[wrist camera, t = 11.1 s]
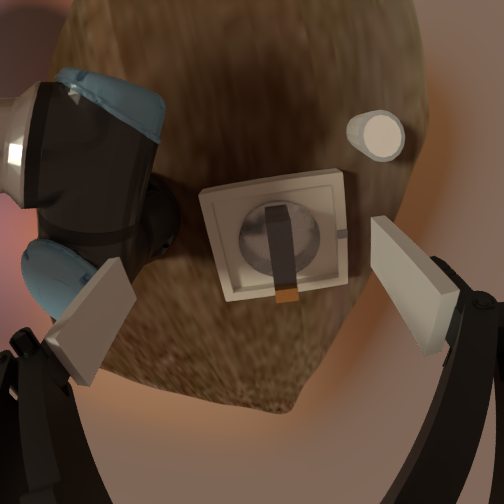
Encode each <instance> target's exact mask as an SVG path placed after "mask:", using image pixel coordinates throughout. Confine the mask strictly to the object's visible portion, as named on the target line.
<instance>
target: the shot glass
mask: <svg viewBox="0 0 504 504" xmlns="http://www.w3.org/2000/svg"><path fill="white" fill-rule="evenodd" d="M346 134H347V138H348V141H349V142H350V143H351V145H352V146H353V147H355V148H356V149H358V150H359V151H361V152H362V153H364V154H365V155H367V156H368V157H370V158H371V159H373V160H374V161H380V162H387V161H391V160H393V159H394V158H396V157H397V156H398V155H399V154H400V152H401V151H402V149H403V147H404V142H405V133H404V129H403V126H402V124H401V123H400V121H399V119H398V118H397V117H396V116H394V115H393V114H392V113H390V112H387V111H384V110H376V111H371V112H367V113H364V114H360V115H356V116H355V117H353V118H352V119H351V120H350V121H349V123H348V125H347V130H346Z"/></svg>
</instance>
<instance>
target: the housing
mask: <svg viewBox="0 0 504 504" xmlns="http://www.w3.org/2000/svg"><path fill="white" fill-rule="evenodd" d="M198 197H199V201H200V205H201V209H202V213H203V217H204V221H205V225H206V229H207V233H208V236H209V240H210V244H211V248H212V252H213V255H214V259H215V263H216V267H217V270H218V274H219V278H220V281H221V285H222V288H223V292H224V296H225V299H226V302H227V301H235V300H243V299H251V298H258V297H266V296H273V295H275V287H274V280H273V276H268V275H264V274H262V273H260V272H258V271H256V270H254V269H253V268H252V267H251V266H250V265H249V264H248V263H247V262H246V261H245V259H244V258H243V256H242V254H241V252H240V248H239V233H240V228H241V225H242V223H243V221H244V219H245V218H246V216H247V215H248V214H249V213H250V212H251V211H252V210H253V209H255V208H256V207H258V206H259V205H262V204H264V203H267V202H270V201H276V200H284V201H290V202H294V203H297V204H299V205H301V206H302V207H304V208H305V209H306V210H308V211H309V212H310V213H311V215H312V216H313V217H314V219H315V221H316V223H317V225H318V227H319V231H320V246H319V249H318V252H317V254H316V256H315V258H314V259H313V261H312V262H311V263H310V264H309V265H308V266H307V267H306V268H304V269H303V270H301V271H299V272H298V273H296V277H297V286H298V292H300V291H307V290H313V289H319V288H325V287H332V286H337V285H343V284H348V250H347V238H348V230H347V224H346V207H345V193H344V181H343V172H341V171H340V170H338V169H337V168H332V169H324V170H315V171H308V172H300V173H293V174H286V175H279V176H273V177H266V178H260V179H254V180H248V181H242V182H237V183H231V184H226V185H220V186H215V187H210V188H205V189H202V191H201V192H200V193H199V195H198Z"/></svg>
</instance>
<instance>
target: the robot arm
mask: <svg viewBox="0 0 504 504" xmlns="http://www.w3.org/2000/svg"><path fill="white" fill-rule="evenodd" d="M55 80H57V82H37V83H35V85H33V86H32V87H31V88H30V89H28V90H27V91H26V92H25V93H24V94H23V95H21V96H19V97H18V98H0V193H6V194H8V195H9V196H10V197H11V198H12V199H13V200H14V201H15V202H16V204H17V205H18V206H19V207H20V208H21V209H30V208H39V221H38V228H39V233H38V238H37V239H35V240H33V241H31V242H30V243H29V244H28V247H27V249H26V250H25V251H24V253H23V255H22V259H21V270H22V275H23V278H24V281H25V284H26V286H27V288H28V290H29V291H30V293H31V294H32V296H33V298H34V299H35V300H36V301H37V303H38V304H39V305H40V306H41V307H42V308H43V309H44V310H45V311H46V312H47V313H48V314H49V315H51V316H52V317H53V318H55V319H56V320H57V321H56V322H55V324H54V325H53V326H52V328H51V329H50V330H49V332H48V333H47V335H46V336H45V337H44V339H43V341H42V342H41V344H40V343H39V341H38V340H37V338H36V337H35V335H34V334H33V332H32V330H31V329H30V328H29V327H25V328H22V329H20V330H19V331H18V332H16V333H15V334H14V335H13V336H12V338H11V339H10V342H9V343H10V345H11V346H12V348H13V349H14V351H15V352H16V353H17V355H18V356H19V357H17V358H15V357H14V356H13V354H12V353H11V351H9V350H4V351H3V352H0V504H113V503H112V501H111V499H110V497H109V495H108V492H107V490H106V488H105V486H104V484H103V481H102V479H101V477H100V474H99V472H98V470H97V467H96V465H95V462H94V459H93V457H92V454H91V451H90V448H89V446H88V443H87V440H86V437H85V434H84V430H83V427H82V424H81V421H80V417H79V414H78V410H77V406H76V402H75V398H74V394H73V390H72V387H71V385H70V383H69V382H68V379H69V377H70V376H71V377H72V378H73V380H74V381H75V382H76V383H77V385H82V386H90V385H91V383H92V381H93V379H94V377H95V375H96V373H97V371H98V369H99V367H100V365H101V363H102V361H103V359H104V357H105V355H106V353H107V351H108V350H109V348H110V346H111V344H112V342H113V340H114V338H115V336H116V335H117V333H118V331H119V329H120V327H121V326H122V324H123V322H124V320H125V318H126V317H127V315H128V313H129V311H130V310H131V308H132V306H133V304H134V303H135V301H136V299H137V298H136V296H135V293H134V291H133V289H132V286H131V284H132V283H133V281H134V280H135V278H136V276H137V275H138V273H139V272H140V270H141V269H142V268H143V266H144V265H146V264H148V263H150V262H152V261H155V260H157V259H158V258H160V257H161V256H163V255H164V254H165V253H166V252H167V251H168V249H169V248H170V247H171V245H172V244H173V242H174V240H175V238H176V236H177V234H178V230H179V225H180V215H179V209H178V205H177V202H176V200H175V198H174V196H173V194H172V193H171V191H170V190H169V189H168V187H167V186H166V185H165V184H164V183H163V182H162V181H160V180H159V179H158V178H156V177H154V176H152V175H151V171H152V167H153V163H154V159H155V156H156V152H157V148H158V145H160V143H161V140H160V134H161V130H162V126H163V122H164V118H165V114H166V105H165V102H164V100H163V98H162V97H161V96H160V95H158V94H157V93H155V92H153V91H151V90H149V89H146V88H144V87H141V86H138V85H136V84H133V83H130V82H127V81H124V80H121V79H118V78H114V77H111V76H107V75H103V74H99V73H95V72H89V71H84V70H80V69H76V68H69V67H66V68H63V69H61V70H60V72H59V73H58V74H57V75H56V78H55ZM371 268H372V269H373V271H374V272H375V274H376V275H377V277H378V278H379V280H380V282H381V283H382V285H383V286H384V288H385V290H386V291H387V293H388V294H389V296H390V297H391V299H392V301H393V302H394V304H395V306H396V307H397V309H398V311H399V312H400V314H401V316H402V318H403V319H404V321H405V323H406V324H407V326H408V328H409V330H410V332H411V333H412V335H413V337H414V339H415V340H416V342H417V344H418V346H419V348H420V349H421V352H422V353H423V355H424V357H425V356H429V355H432V354H435V353H438V352H441V350H442V348H443V345H444V342H445V339H446V341H447V343H448V344H449V346H450V349H449V351H448V353H447V356H446V359H445V361H444V364H443V367H444V368H443V371H442V374H441V377H440V380H439V384H438V386H437V389H436V392H435V395H434V397H433V400H432V403H431V405H430V408H429V411H428V413H427V416H426V418H425V421H424V423H423V425H422V427H421V430H420V432H419V434H418V436H417V438H416V441H415V443H414V445H413V447H412V449H411V451H410V453H409V455H408V457H407V459H406V461H405V463H404V464H403V466H402V468H401V470H400V472H399V473H398V475H397V477H396V479H395V480H394V482H393V484H392V485H391V487H390V489H389V490H388V492H387V494H386V495H385V497H384V498H383V500H382V501H381V503H380V504H456V502H457V500H458V498H459V496H460V493H461V491H462V489H463V487H464V484H465V481H466V479H467V477H468V474H469V471H470V469H471V466H472V463H473V460H474V457H475V454H476V451H477V448H478V445H479V442H480V438H481V435H482V431H483V427H484V423H485V419H486V415H487V410H488V406H489V401H490V395H491V389H492V384H493V377H494V385H495V400H496V447H495V461H494V472H493V479H492V486H491V493H490V498H489V504H504V302H497V301H496V299H495V298H494V297H493V296H491V295H490V294H489V293H486V292H483V291H473V290H472V289H471V288H470V287H469V286H468V285H467V284H466V283H465V281H464V280H463V279H461V277H460V276H459V275H458V274H456V272H455V271H454V270H453V269H451V267H450V266H449V265H448V264H447V263H446V262H445V261H443V260H441V259H440V258H438V257H436V256H432V257H428V256H427V255H426V254H425V253H424V252H423V251H422V250H421V249H420V248H419V247H418V246H417V245H416V244H415V243H414V242H413V241H412V240H411V239H410V238H409V237H408V236H407V235H406V234H405V233H404V232H403V231H401V230H400V229H399V228H398V227H397V226H396V225H395V224H394V223H393V222H392V221H390V220H389V219H388V218H387V217H386V216H385V215H384V216H376V217H371ZM10 388H11V389H12V390H13V392H14V393H15V394H16V395H17V396H18V399H17V400H15V399H14V398H13V397H12V396H11V395H10V393H9V389H10Z"/></svg>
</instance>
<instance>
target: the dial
mask: <svg viewBox="0 0 504 504" xmlns="http://www.w3.org/2000/svg"><path fill="white" fill-rule="evenodd" d="M319 246H320V231H319V227H318V225H317V223H316V221H315V219H314V217H313V216H312V215H311V213H310V212H309V211H308V210H306V209H305V208H304V207H302V206H301V205H299V204H297V203H294V202H290V201H284V200H276V201H270V202H267V203H264V204H262V205H259V206H258V207H256V208H255V209H253V210H252V211H251V212H250V213H249V214H248V215H247V216H246V218H245V219H244V221H243V223H242V225H241V228H240V233H239V248H240V252H241V254H242V256H243V258H244V259H245V261H246V262H247V263H248V264H249V265H250V266H251V267H252V268H253V269H254V270H256V271H258V272H260V273H262V274H264V275H268V276H273V280H274V287H275V296H276V303H282V302H290V301H298V300H299V296H298V286H297V277H296V273H298V272H299V271H301V270H303V269H304V268H306V267H307V266H308V265H309V264H310V263H311V262H312V261H313V259H314V258H315V256H316V254H317V252H318V249H319Z"/></svg>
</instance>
